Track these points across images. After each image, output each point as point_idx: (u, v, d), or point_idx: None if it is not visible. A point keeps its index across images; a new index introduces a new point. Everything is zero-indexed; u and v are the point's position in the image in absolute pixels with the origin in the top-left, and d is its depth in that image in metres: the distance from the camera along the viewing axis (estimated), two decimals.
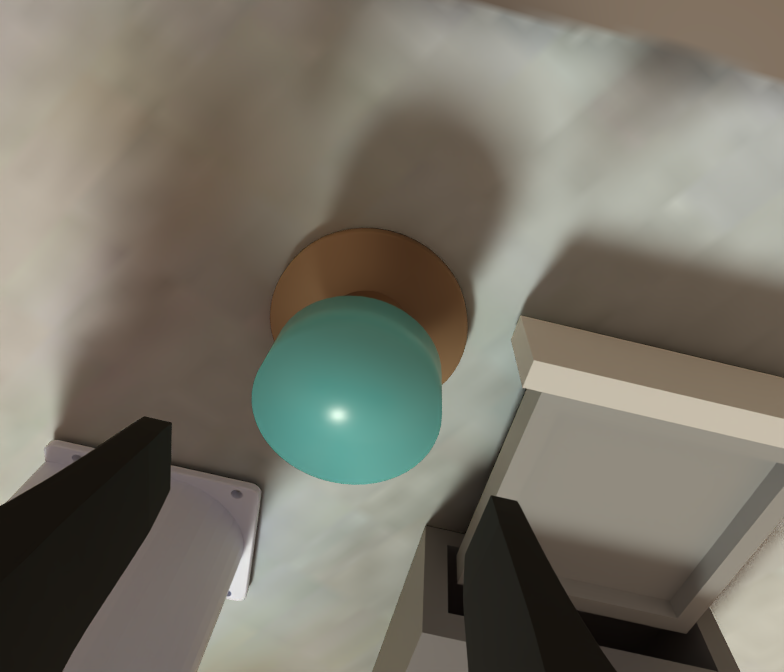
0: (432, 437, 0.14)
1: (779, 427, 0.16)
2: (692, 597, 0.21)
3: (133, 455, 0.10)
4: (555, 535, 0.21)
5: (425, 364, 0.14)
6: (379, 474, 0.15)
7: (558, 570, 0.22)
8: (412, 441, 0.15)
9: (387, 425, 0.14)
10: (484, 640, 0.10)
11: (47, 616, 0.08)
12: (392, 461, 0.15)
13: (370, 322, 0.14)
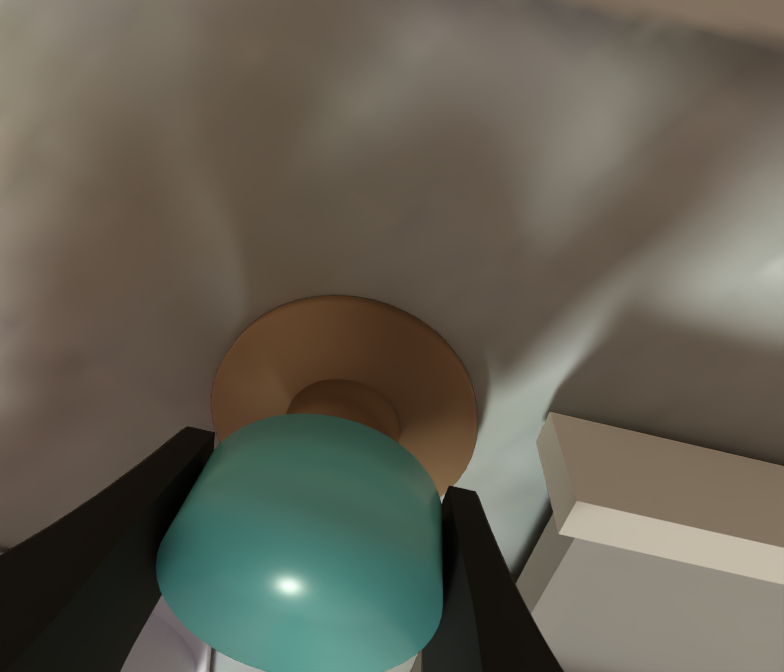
0: (428, 630, 0.10)
1: None
2: None
3: (183, 467, 0.10)
4: None
5: (418, 536, 0.09)
6: (351, 669, 0.10)
7: None
8: (399, 634, 0.10)
9: (360, 614, 0.10)
10: None
11: (106, 629, 0.08)
12: (370, 656, 0.10)
13: (333, 471, 0.09)
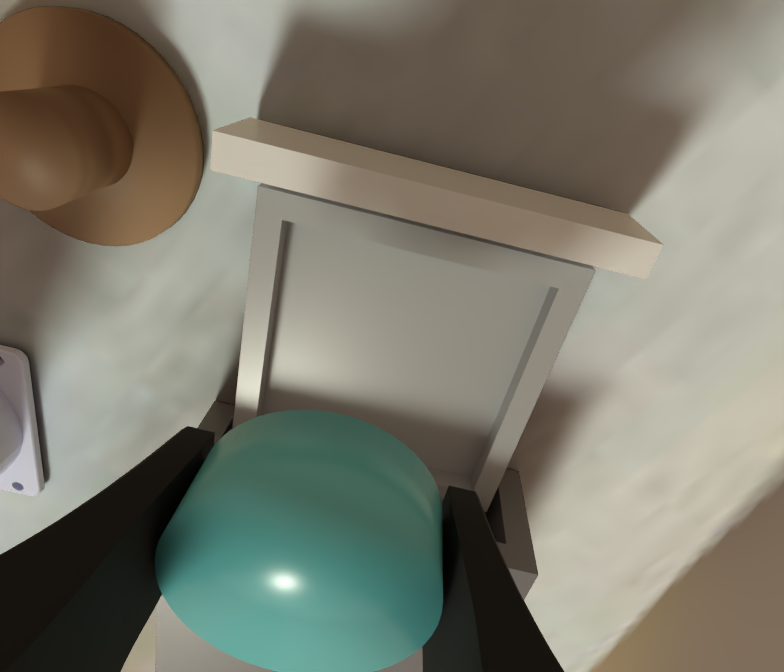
0: (428, 627, 0.10)
1: (505, 217, 0.14)
2: (483, 465, 0.19)
3: (183, 467, 0.10)
4: (331, 396, 0.19)
5: (418, 532, 0.09)
6: (351, 667, 0.10)
7: None
8: (398, 631, 0.10)
9: (360, 611, 0.10)
10: (436, 629, 0.10)
11: (106, 629, 0.08)
12: (369, 653, 0.10)
13: (332, 467, 0.09)
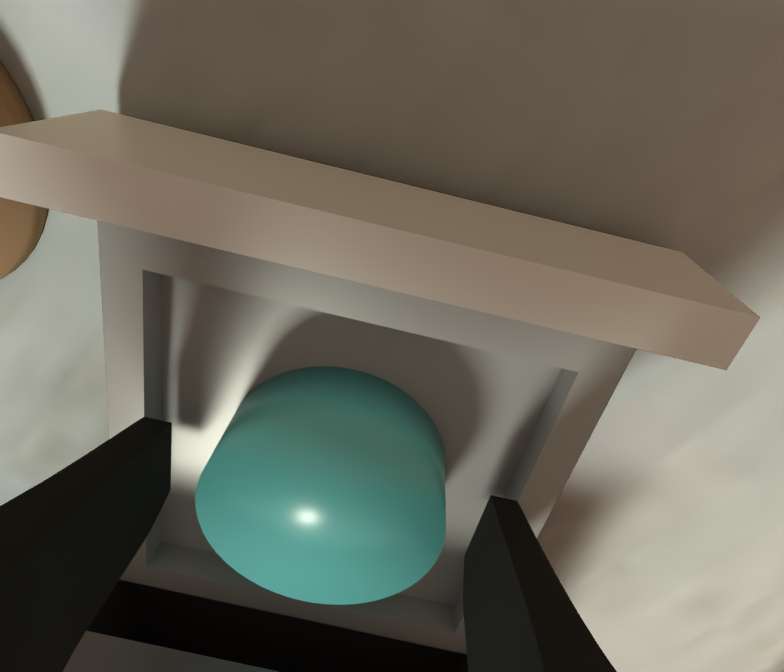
0: (433, 554, 0.11)
1: (491, 273, 0.08)
2: None
3: (133, 455, 0.10)
4: None
5: (424, 466, 0.10)
6: (364, 593, 0.12)
7: None
8: (407, 558, 0.11)
9: (374, 539, 0.11)
10: (484, 639, 0.10)
11: (47, 616, 0.08)
12: (381, 580, 0.12)
13: (350, 410, 0.10)
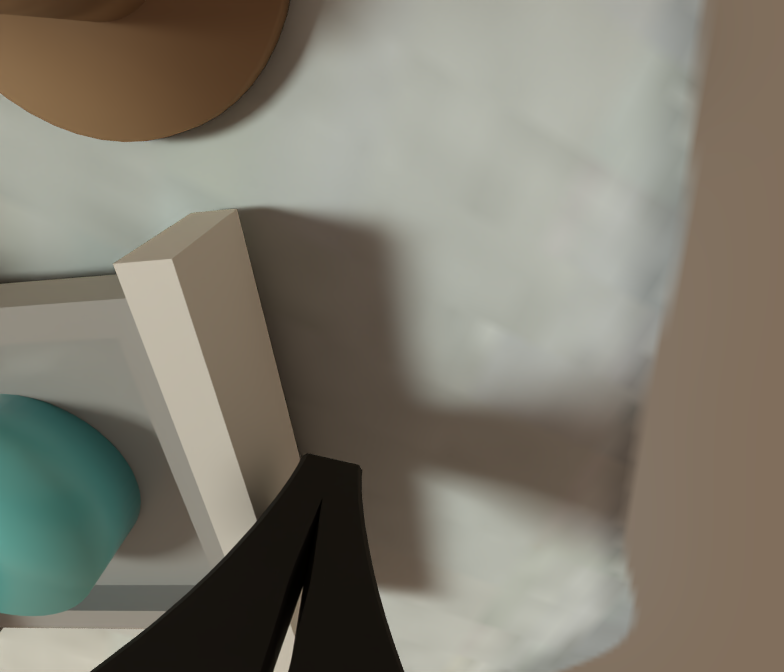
0: (25, 612, 0.13)
1: None
2: None
3: (321, 497, 0.10)
4: None
5: (95, 583, 0.12)
6: None
7: None
8: (5, 599, 0.13)
9: (1, 577, 0.12)
10: (302, 600, 0.10)
11: (270, 663, 0.08)
12: None
13: (101, 521, 0.12)
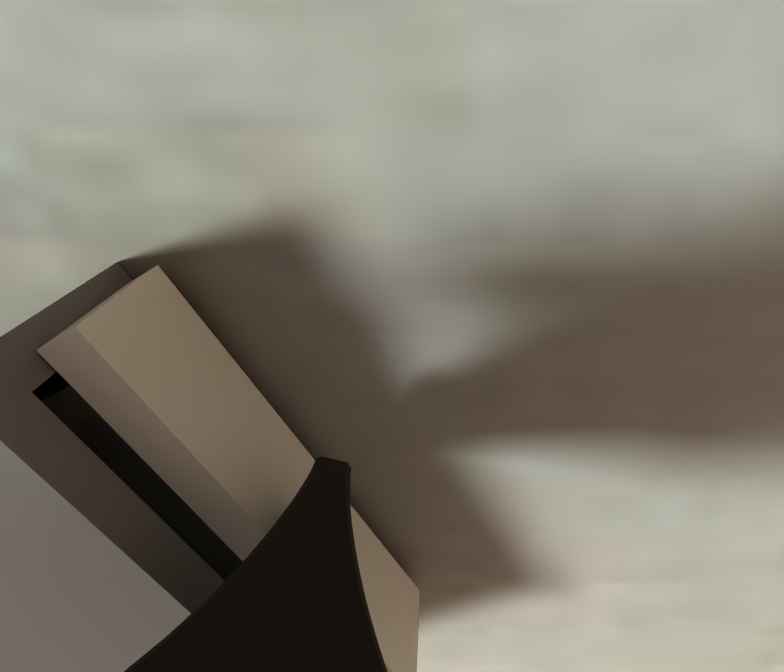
0: None
1: None
2: None
3: (336, 501, 0.10)
4: None
5: None
6: None
7: None
8: None
9: None
10: None
11: None
12: None
13: None
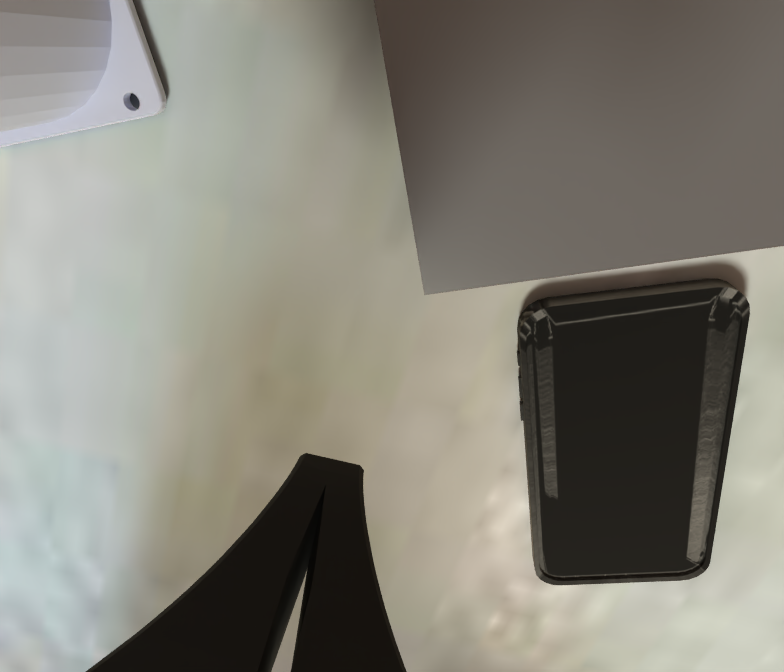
0: None
1: None
2: None
3: (318, 497, 0.10)
4: None
5: None
6: None
7: None
8: None
9: None
10: (304, 600, 0.10)
11: (267, 663, 0.08)
12: None
13: None
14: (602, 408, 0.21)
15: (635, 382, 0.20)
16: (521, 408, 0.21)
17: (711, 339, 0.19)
